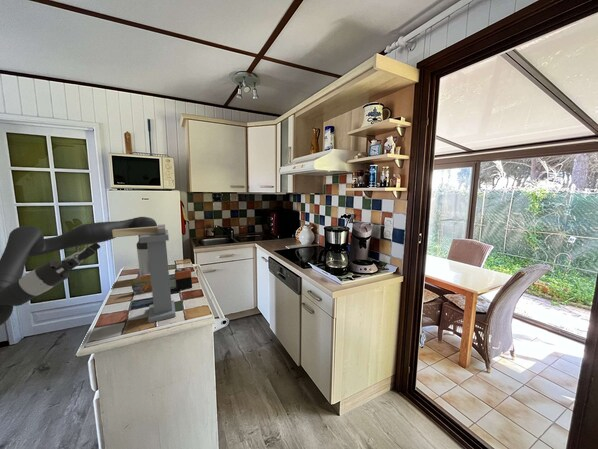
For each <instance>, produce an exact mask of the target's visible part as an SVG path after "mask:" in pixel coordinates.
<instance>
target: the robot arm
mask: <svg viewBox="0 0 598 449" xmlns="http://www.w3.org/2000/svg"><path fill="white" fill-rule="evenodd" d="M155 226H158V224H157V222H156V220H155V219H154V218H152V217H148V216H138V217H133V218H128V219H125V220H115V221H100V222H91V223H84V224H83V223H82V224H81V225H78V226H76V227H74V228H72V229H70V230H68V231H66V232H64V233H62V234H60V235H57V236H53V237H47V238H44V237H45V235H44V233H43V231H42V229H40V228H39V227H37V226H32V225H21V226H18V227H16V228H14V229H13V230H12V231H11V232H10V233H9V235H8V239H7V242H6V246H5V248H4V250H3V252H2V254H1V257H0V326H3V325H4V324H5V323H6V322H7V321H8V320H9V319H10V317H11V316H12V314H13V311H14V310H13V309H14V307H19V306H22V305H25V304H26V303H27V302H29V301H31V300H33V299H34V298H36V297H38V296H40V295H41V294H43V293H45V292H47V291H49V290H51V289H52V288H54V287H56V286H57V285H59V284H60V283H62V282H63V281H65V280H67V279H68V278H70V273H69V271H72V270H73V269H75V268H76V267H78V266H79V265H80V264H81V263H83V262H84V260H86V259H88V258H90V257H91V256H93V255H95V253H96V251H97V250H99V249H100V248H101V245H100V243H104V242H108V241H111V240H113V239H115V238H117V237H113V233H112V230H114V229H128V228H141V227H155ZM137 236H138V238H139V237H140V235H137ZM87 245H90V246H88V247H86V248H82V249H81V250H79V251H76V252H75V253H73V254H71V255H69V256H66V257H65V258H63V259H62V260H60V261H58V260H54V259H51V260H48V261H47V262H44V263H43V264H41V265H40V266H38V267H36V268H35V269H33V270H31V271H29V272H28V273H26V274H25V275H24V276H23V274H24V271H25V267H26V262H27V260H28V258H31V257H38V256H42V255H46V254H49V253H53V252H58V251H60V250H65V249H71V248H74V247H75V248H77V247H81V246H87ZM136 253H137V259H138V260H137V262H138V270H139V276H141V275H146V274H150V267H149V257H148V248H147V243H140V241H139V240H138V241H137V243H136Z"/></svg>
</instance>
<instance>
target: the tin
mask: <svg viewBox="0 0 598 449" xmlns="http://www.w3.org/2000/svg"><path fill="white" fill-rule="evenodd" d="M131 289H132V291H133V292H134V293H136V294H139V295H142V294H143V295H144V294H148V293H152V286H151V277H150V274H146V275H141V276H140V275H138V276H137V277H135V278H134V279H133V280H132V282H131Z"/></svg>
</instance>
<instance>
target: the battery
mask: <svg viewBox="0 0 598 449" xmlns="http://www.w3.org/2000/svg"><path fill="white" fill-rule="evenodd" d="M174 278H175V288H176V291H182V290H187V289H191V288H193V280H192V270H191V268H190V267H188V266H187V267H184V268H180V267H179V268H176V270H174Z"/></svg>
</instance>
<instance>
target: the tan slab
mask: <svg viewBox="0 0 598 449" xmlns="http://www.w3.org/2000/svg"><path fill="white" fill-rule="evenodd" d="M165 230H166V225H165V224H157V226H155V227H141V228H128V229H114V230H112V233H113V237H116V238H121V237H122V238H123V237H132V236H133V237H134V236H138V235H148V234H158V235H166V231H165Z"/></svg>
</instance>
